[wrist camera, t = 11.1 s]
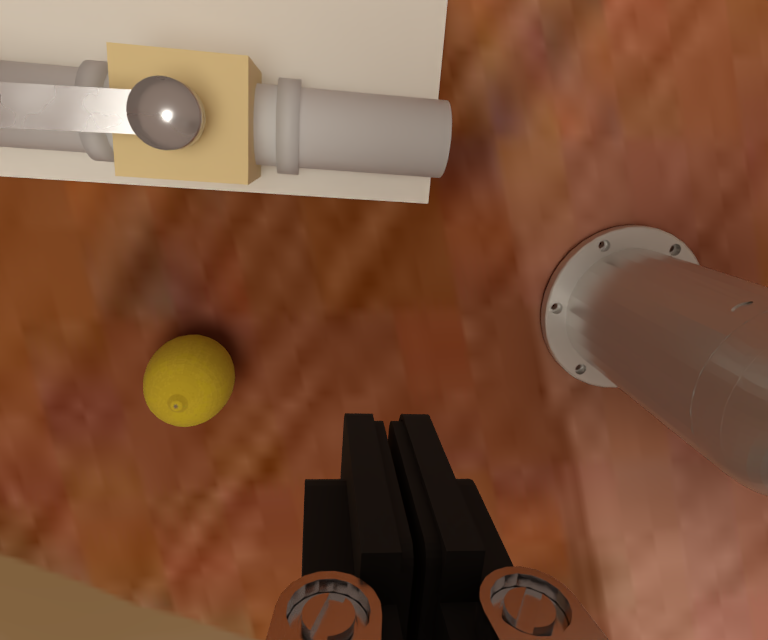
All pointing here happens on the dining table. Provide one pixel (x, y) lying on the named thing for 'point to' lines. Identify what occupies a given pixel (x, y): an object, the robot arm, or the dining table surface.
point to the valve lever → (109, 110)
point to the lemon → (188, 380)
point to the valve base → (271, 46)
